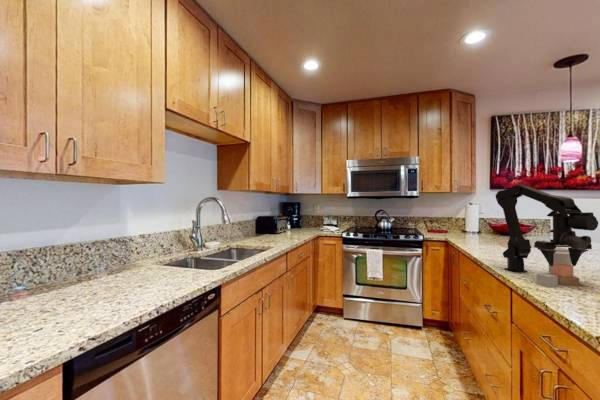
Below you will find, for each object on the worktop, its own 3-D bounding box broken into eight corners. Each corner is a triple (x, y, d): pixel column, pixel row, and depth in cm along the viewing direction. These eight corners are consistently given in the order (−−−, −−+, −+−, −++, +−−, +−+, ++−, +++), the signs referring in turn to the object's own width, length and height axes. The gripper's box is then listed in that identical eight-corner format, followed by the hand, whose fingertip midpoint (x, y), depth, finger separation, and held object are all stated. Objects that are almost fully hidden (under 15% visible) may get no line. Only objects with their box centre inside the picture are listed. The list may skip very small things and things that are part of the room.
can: (551, 275, 125) (551, 249, 125) (546, 271, 131) (546, 246, 131) (574, 277, 121) (574, 250, 121) (567, 273, 128) (567, 247, 128)
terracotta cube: (552, 273, 117) (552, 263, 116) (562, 273, 117) (562, 263, 117) (562, 276, 112) (562, 265, 112) (573, 276, 112) (573, 265, 112)
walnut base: (546, 281, 118) (546, 273, 118) (565, 281, 117) (564, 273, 117) (559, 286, 111) (559, 277, 111) (579, 286, 110) (579, 278, 110)
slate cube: (536, 284, 113) (536, 273, 113) (545, 283, 114) (545, 272, 114) (548, 288, 109) (548, 276, 109) (557, 287, 109) (557, 275, 109)
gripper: (557, 230, 106) (557, 271, 106) (606, 229, 106) (606, 270, 106) (533, 227, 117) (533, 264, 117) (577, 226, 117) (577, 263, 117)
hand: (562, 265), depth 114 cm, fingers open, 9 cm apart
